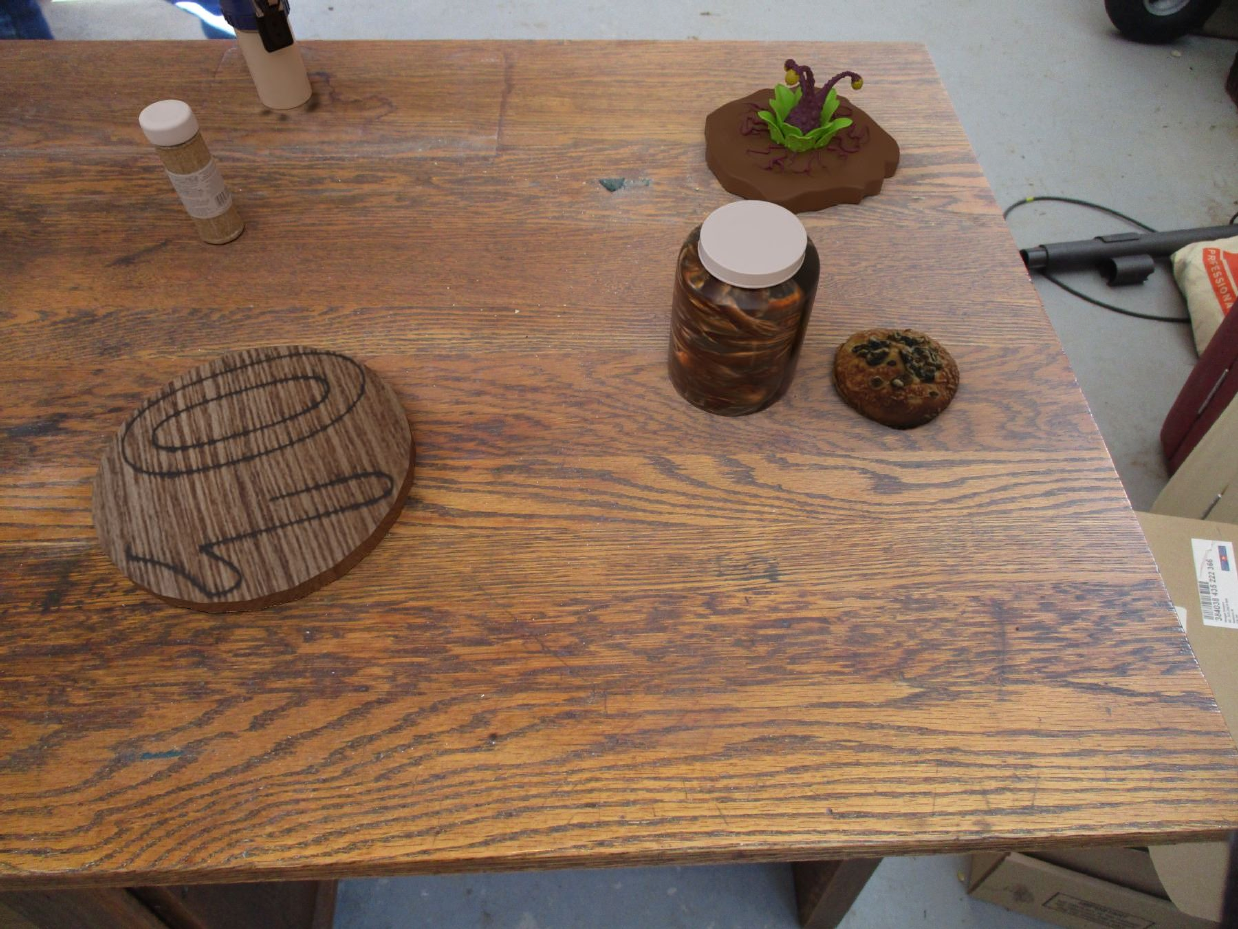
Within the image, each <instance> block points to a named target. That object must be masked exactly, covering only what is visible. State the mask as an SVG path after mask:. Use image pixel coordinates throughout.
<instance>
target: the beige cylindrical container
mask: <svg viewBox="0 0 1238 929" xmlns="http://www.w3.org/2000/svg"><path fill="white" fill-rule="evenodd" d="M286 19H287V22H288V25H289V28H290V31H291V34H292V37H293V40H294V43H293V45H291V46H288V47H285V48H283V49H280V50H277V51H274V52H272V53H268V52H267V51H266V50H265V48H264V46H263V43H262V40H261V37H260V35H259V32H258V30H240V29H237V28H234V27H232V30H233V32H234V34H235V37H236V39H237V42H238V45H239V47H240V49H241V53H242V55H243V58H244V60H245V64H246V65H247V68H248V71H249V74H250V76H251V78H252V81H253V83H254V86H255V89H256V92H257V94H258V97H259V100H260V102H261V103H262V104H263V105H264V106H265V107H266V108H269V109H272V110H289V109H294V108H297V107H299V106H302V105H304V104H305V103H306V102H307V101H309V100H310V98H311V97H312V95H313V89H312V85H311V82H310V80H309V76H308V72H307V70H306V67H305V64H304V61H303V57H302V55H301V52H300V49H299V46H298V42H297V39H296V36H295V33H294V30H293V27H292V24H291V21H290V18H289V16H288V17H287V18H286Z"/></svg>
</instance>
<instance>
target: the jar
mask: <svg viewBox="0 0 1238 929" xmlns="http://www.w3.org/2000/svg"><path fill="white" fill-rule="evenodd" d="M820 274H821V259H820V255H819V252H818V249H817V247H816V245H815V243H814V241H813V240H812V239H811V238H810V236H809V235H808V234H807V230H806V228H805V226H804V223H803V222H802V221H801V220H800V219H799V217H798V216H797V215H795V213H794V214H793V213H792V212H790V211H788V210H787V209H785V208H783V207H781V206H779V205H776V204H773V203H770V202H765V201H759V200H747V199H745V200H737V201H733V202H730V203H726V204H724V205H722V206H720V207H718V208H716V209H715V210H713V211H712V212H710V214H709V215H708V216H707V217H706V218H705V220H704V221H703V222H701V223H700V224H698V225H697V226H696V227H694V229H692V230H691V231H690V233H689V234H688V235H687V236H686V238H685V240H684V241H683V242H682V244H681V247H680V249H679V253H678V256H677V260H676V266H675V273H674V279H673V280H674V281H673V288H672V289H673V290H672V301H671V311H670V321H669V322H670V324H669V335H668V336H669V338H668V349H667V370H668V375H669V378H670V381H671V384H672V385H673V387H674V388H675V390H676V392H678V394H679V395H680V397H682V398H683V399H684V400H686V401H687V403H689V404H691V405H693V406H695V407H696V408H698V409H700V410H702V411H704V412H707V413H711V414H714V415H719V416H728V417H738V416H746V415H751V414H755V413H759V412H761V411H764V410H766V409H768V408H770V407H771V406H773V405H774V404H776V403H777V402H778V401H780V399H781V398H782V397H784V395H785V394H786V392H787V391H788V390H789V388H790V386H791V384H792V382H793V380H794V376H795V373H796V369H797V366H798V363H799V359H800V356H801V352H802V348H803V345H804V341H805V339H806V334H807V332H808V331H807V330H808V327H809V323H810V319H811V315H812V313H813V309H814V305H815V304H814V303H815V299H816V297H817V292H818V288H819V283H820V282H819V281H820V277H821V276H820Z"/></svg>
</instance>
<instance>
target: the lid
mask: <svg viewBox="0 0 1238 929" xmlns="http://www.w3.org/2000/svg"><path fill="white" fill-rule="evenodd" d="M258 2H259V0H258ZM281 2H282V5H283V8H284V12H285V16H286V18H287V17H289V15H290V12H291V7H290V2H289V0H281ZM218 3H219V7H220V11H221V14H222V17H223V19H224V21H225V22H226V24H227V25H229V26H230V27H231V28H233V27H234V28H237V29H240V30H258V29H257V26H256V23H255V21H254V18H253V15H254V14H256V13H255V11H254V9H253V7H252V5H251V3H250V1H249V0H218Z"/></svg>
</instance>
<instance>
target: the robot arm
mask: <svg viewBox="0 0 1238 929" xmlns="http://www.w3.org/2000/svg"><path fill="white" fill-rule="evenodd" d="M249 1H250V3H251V5H252V7H253V9H254V11H255V13H256V14H254V15H253V18H254V21H255V23H256V26H257V29H258V32H259V35H260V37H261V40H262V43H263V46H264V48H265V50H266V51H267V52H268V53H272V52H274V51H277V50H280V49H283V48H285V47H288V46H291V45H293V43H294V40H293V37H292V34H291V31H290V28H289V25H288V22H287V19H286V16H285V12H284V8H283V5H282V2H281V0H259V2H258V0H249Z"/></svg>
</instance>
